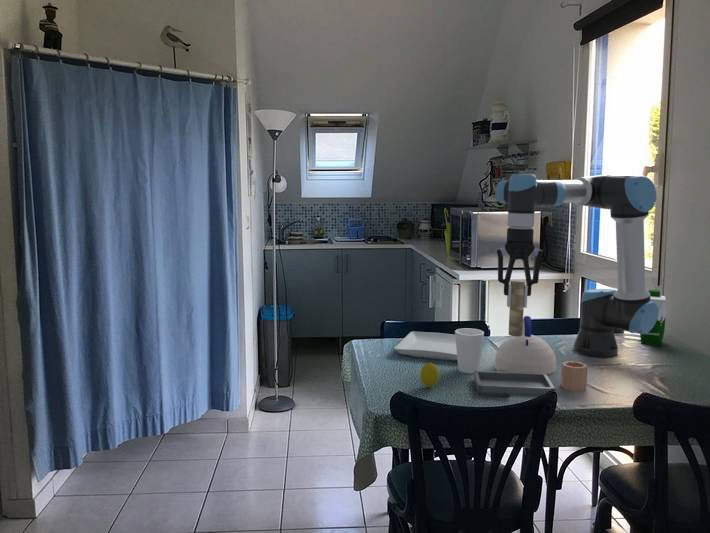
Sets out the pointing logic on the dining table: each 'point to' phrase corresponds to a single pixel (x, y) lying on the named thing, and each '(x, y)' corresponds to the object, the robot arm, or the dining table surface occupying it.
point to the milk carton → (658, 329)
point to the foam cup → (468, 349)
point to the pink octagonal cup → (574, 376)
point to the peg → (516, 308)
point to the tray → (511, 383)
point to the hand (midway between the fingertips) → (516, 306)
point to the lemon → (429, 374)
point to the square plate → (429, 345)
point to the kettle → (525, 353)
